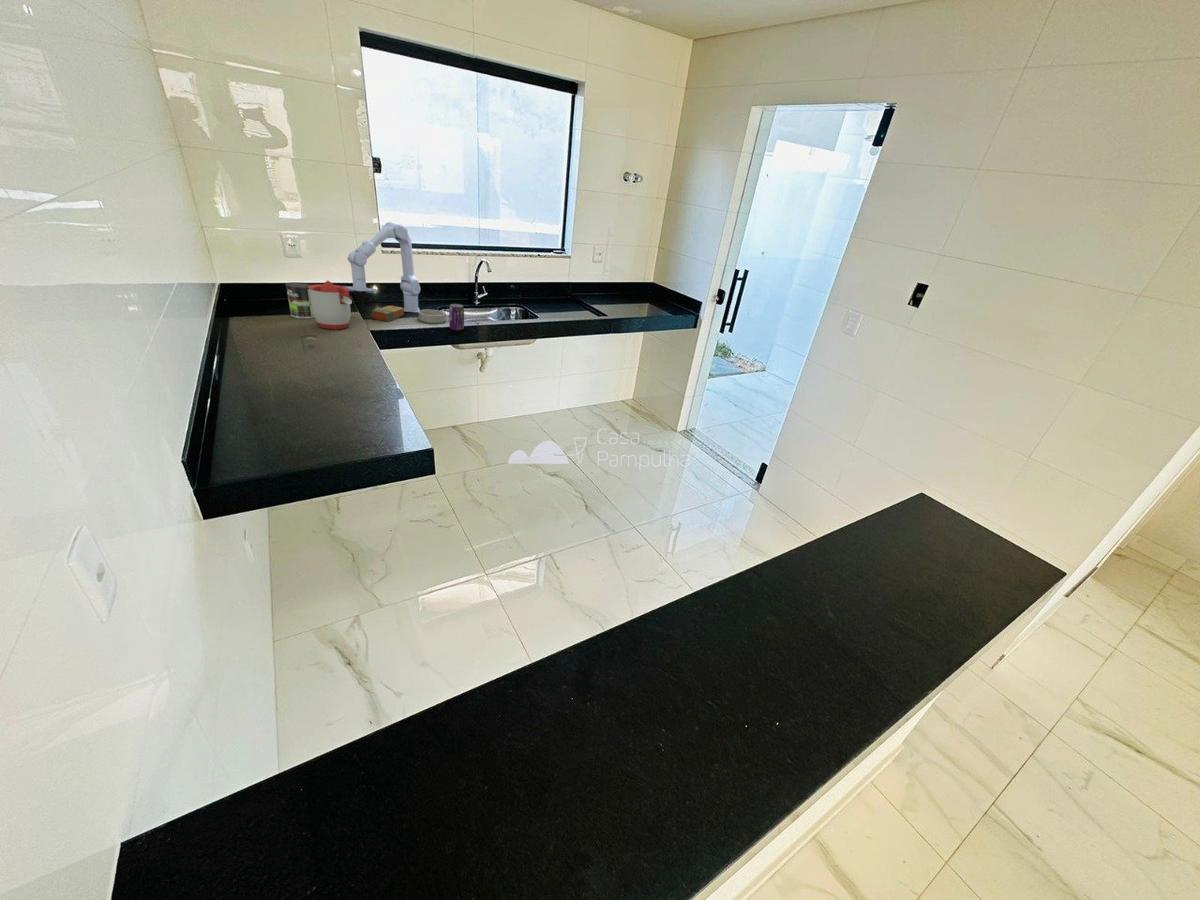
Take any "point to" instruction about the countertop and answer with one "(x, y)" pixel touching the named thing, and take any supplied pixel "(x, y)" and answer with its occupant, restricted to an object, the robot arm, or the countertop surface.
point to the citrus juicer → (330, 305)
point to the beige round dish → (431, 316)
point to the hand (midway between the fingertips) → (361, 307)
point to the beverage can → (456, 317)
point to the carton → (387, 313)
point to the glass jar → (299, 300)
